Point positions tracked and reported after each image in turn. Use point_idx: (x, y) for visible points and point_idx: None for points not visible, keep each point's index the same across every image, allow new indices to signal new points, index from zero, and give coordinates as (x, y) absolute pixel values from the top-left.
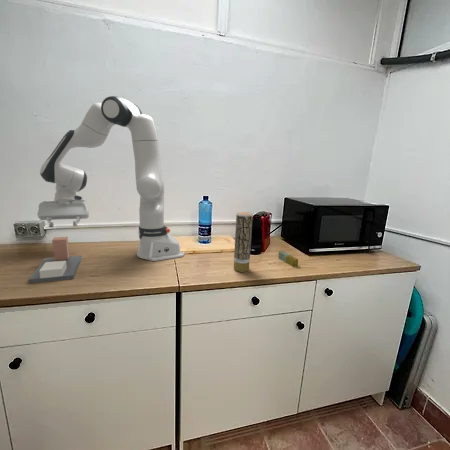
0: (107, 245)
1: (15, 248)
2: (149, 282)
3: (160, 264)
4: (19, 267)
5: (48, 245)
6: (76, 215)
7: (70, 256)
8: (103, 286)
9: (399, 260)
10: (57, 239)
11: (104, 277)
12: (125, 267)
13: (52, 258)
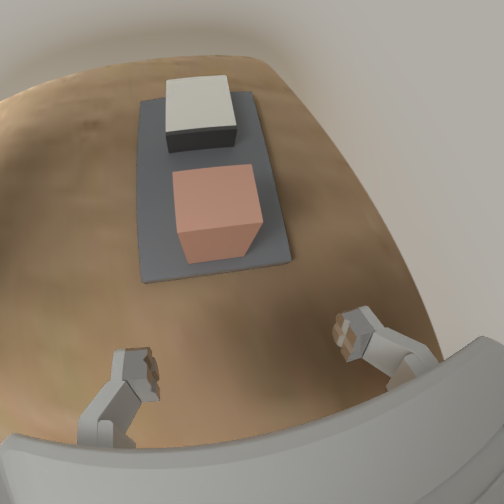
0: None
1: None
2: (9, 109)
3: None
4: (343, 211)
5: None
6: (104, 448)
7: (187, 272)
8: (81, 84)
9: None
10: (224, 174)
11: (71, 118)
12: (17, 181)
13: (258, 252)
